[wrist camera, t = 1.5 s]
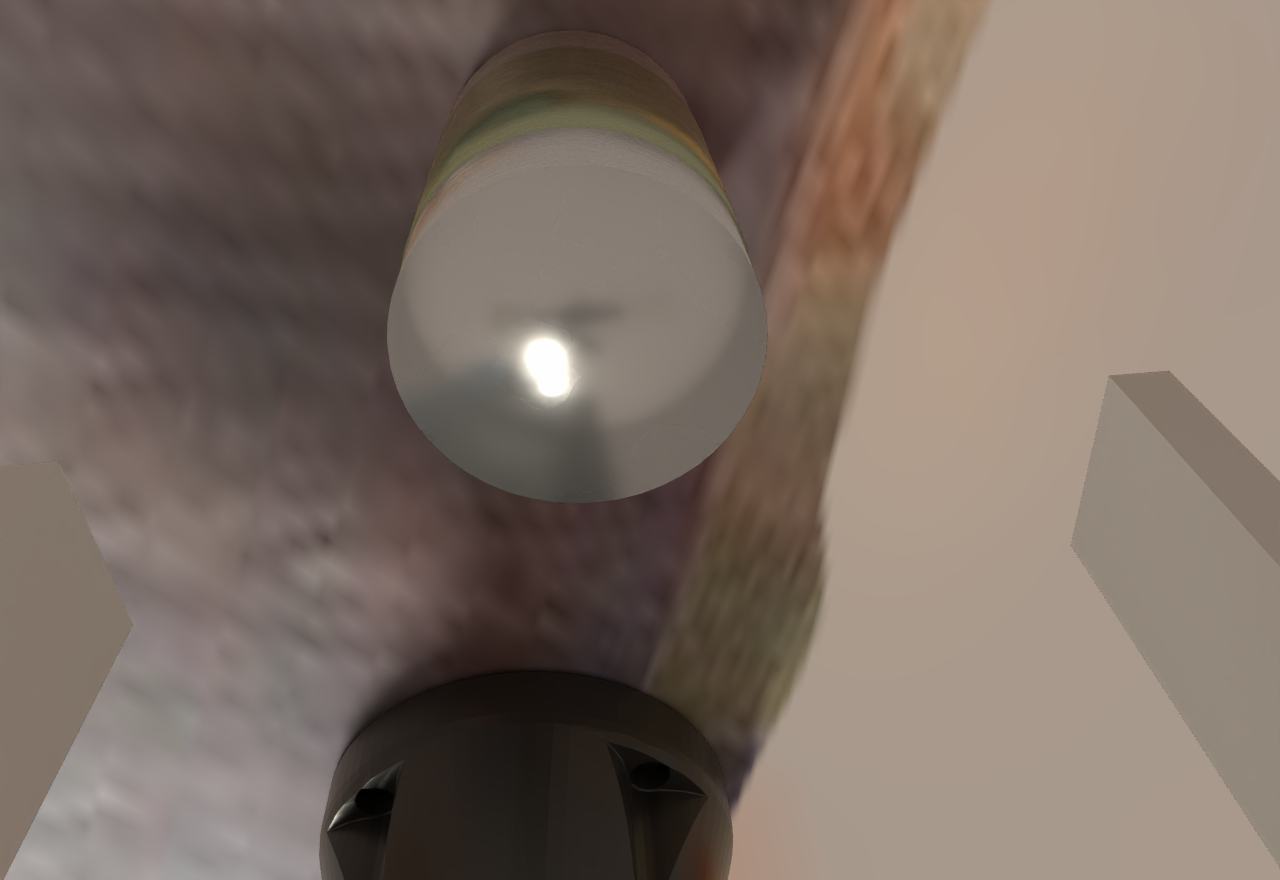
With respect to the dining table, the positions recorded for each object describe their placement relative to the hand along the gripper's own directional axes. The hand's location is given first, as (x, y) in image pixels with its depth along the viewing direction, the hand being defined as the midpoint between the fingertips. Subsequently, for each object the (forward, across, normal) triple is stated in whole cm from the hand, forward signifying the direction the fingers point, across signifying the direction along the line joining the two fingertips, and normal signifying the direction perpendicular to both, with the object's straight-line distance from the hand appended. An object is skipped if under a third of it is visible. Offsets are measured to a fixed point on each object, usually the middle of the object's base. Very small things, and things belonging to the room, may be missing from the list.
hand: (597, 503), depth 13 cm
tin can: (+15, 0, 0) cm, 15 cm away
